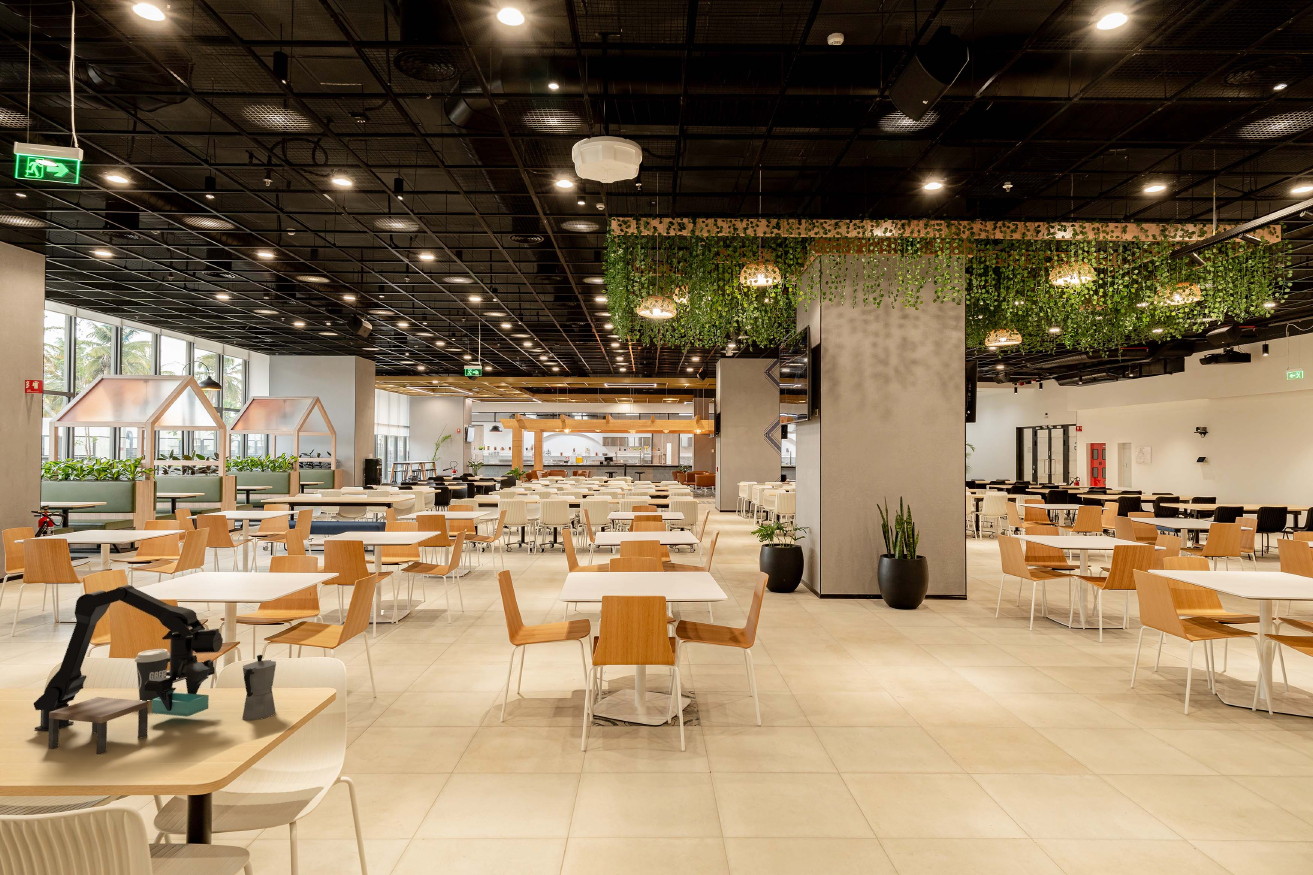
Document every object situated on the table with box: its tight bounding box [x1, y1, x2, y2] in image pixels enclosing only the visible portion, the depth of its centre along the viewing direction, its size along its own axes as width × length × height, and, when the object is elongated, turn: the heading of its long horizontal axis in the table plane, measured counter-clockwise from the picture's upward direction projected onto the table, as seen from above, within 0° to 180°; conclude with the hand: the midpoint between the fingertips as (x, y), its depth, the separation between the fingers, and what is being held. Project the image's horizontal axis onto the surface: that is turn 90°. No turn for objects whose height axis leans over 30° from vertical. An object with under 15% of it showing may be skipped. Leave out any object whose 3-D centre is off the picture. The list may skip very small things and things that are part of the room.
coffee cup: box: [134, 648, 170, 701], centre depth 231 cm, size 10×10×15 cm
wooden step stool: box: [47, 696, 149, 755], centre depth 194 cm, size 18×13×10 cm
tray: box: [151, 691, 209, 717], centre depth 210 cm, size 7×13×4 cm, turn 76°
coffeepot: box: [242, 654, 277, 721], centre depth 213 cm, size 15×9×18 cm, turn 6°
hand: (180, 706), depth 210 cm, fingers closed on tray, 7 cm apart
